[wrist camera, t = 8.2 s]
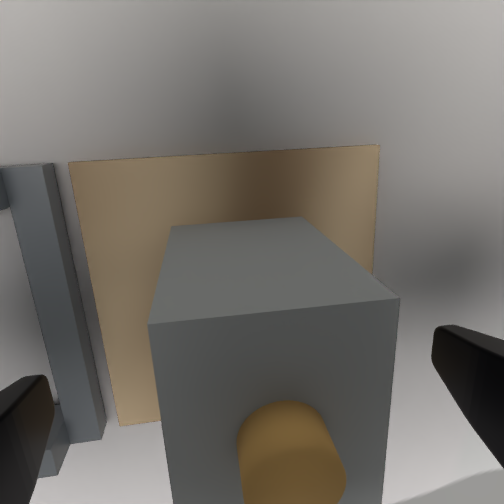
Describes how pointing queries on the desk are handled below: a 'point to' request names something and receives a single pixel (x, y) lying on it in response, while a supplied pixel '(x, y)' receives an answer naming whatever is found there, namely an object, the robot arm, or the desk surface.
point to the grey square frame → (55, 307)
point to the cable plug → (271, 366)
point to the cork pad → (202, 212)
